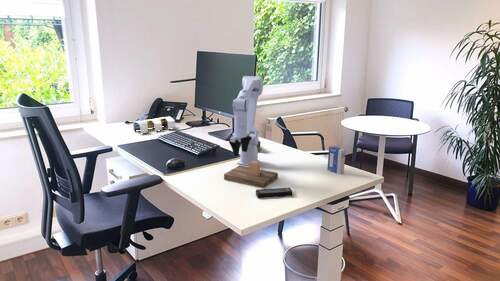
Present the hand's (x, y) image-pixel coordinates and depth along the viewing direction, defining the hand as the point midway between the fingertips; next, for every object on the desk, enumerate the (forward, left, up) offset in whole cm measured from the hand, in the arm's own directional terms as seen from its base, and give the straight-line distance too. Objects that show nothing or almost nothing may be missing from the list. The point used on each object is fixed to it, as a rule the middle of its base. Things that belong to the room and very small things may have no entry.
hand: (240, 153), depth 178 cm
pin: (+4, +10, -9) cm, 14 cm away
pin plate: (+4, +8, -9) cm, 13 cm away
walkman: (-25, +38, -10) cm, 46 cm away
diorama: (-40, -89, -10) cm, 98 cm away
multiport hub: (+15, +25, -10) cm, 30 cm away
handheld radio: (-40, -18, -10) cm, 45 cm away
